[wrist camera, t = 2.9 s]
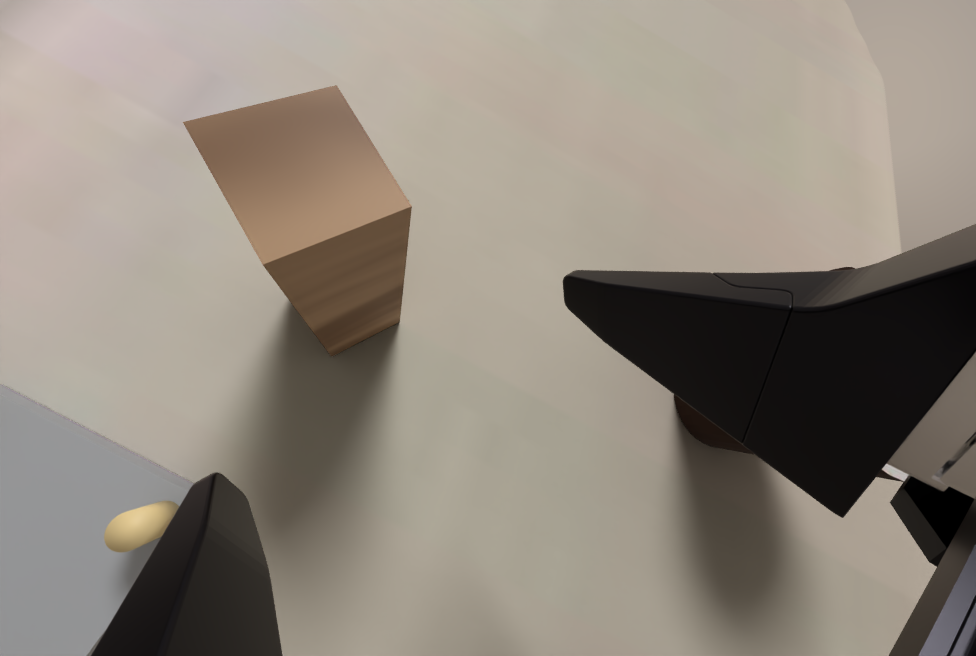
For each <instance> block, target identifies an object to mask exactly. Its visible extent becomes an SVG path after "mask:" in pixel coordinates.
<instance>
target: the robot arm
mask: <svg viewBox="0 0 976 656" xmlns="http://www.w3.org/2000/svg"><path fill="white" fill-rule="evenodd" d="M563 290H564V302H565V305H566V306H567V308H568V309H569V310H570V311H571V312H572V313H573V314H574V315H575V316H576V317H578V318H579V319H580V320H581V321H582V322H583V323H584V324H585V325H586V326H587V327H588V328H589V329H591V330H592V331H593V332H594V333H595V334H596V335H597V336H598V337H599V338H601V339H602V340H603V341H604V342H605V343H607V344H608V345H609V346H610V347H612V348H613V349H614V350H616V351H617V352H618V353H620V354H621V355H622V356H624V357H625V358H626V359H628V360H629V361H631V362H632V363H633V364H635V365H636V366H637V367H639V368H640V369H641V370H643V371H644V372H645V373H647V374H648V375H649V376H651V377H652V378H653V379H655V380H656V381H657V382H659V383H660V384H661V385H663V386H664V387H665V388H667V389H668V390H670V391H671V392H672V393H674V394H675V395H676V396H678V397H679V398H680V399H682V400H683V401H684V402H686V403H687V404H688V405H690V406H691V407H692V408H694V409H695V410H696V411H698V412H699V413H700V414H702V415H703V416H704V417H706V418H707V419H709V420H710V421H711V422H713V423H714V424H715V425H717V426H718V427H719V428H721V429H722V430H723V431H725V432H726V433H727V434H729V435H730V436H731V437H733V438H734V439H735V440H737V441H738V442H739V443H742V445H743V446H744V447H746V448H747V449H748V450H750V451H751V452H753V453H754V454H755V455H757V456H758V457H759V458H761V459H762V460H763V461H765V462H766V463H767V464H769V465H770V466H771V467H773V468H774V469H775V470H777V471H778V472H779V473H781V474H782V475H783V476H785V477H786V478H787V479H789V480H790V481H791V482H793V483H794V484H796V485H797V486H798V487H800V488H801V489H802V490H804V491H805V492H806V493H808V494H809V495H810V496H812V497H813V498H814V499H816V500H817V501H818V502H820V503H821V504H822V505H824V506H825V507H826V508H828V509H829V510H831V511H832V512H833V513H835V514H837V515H838V516H840V517H842V518H843V517H844V516H845V515H846V514H847V512H848V511H849V510H850V509H851V507H852V506H853V505H854V504H855V502H856V501H857V500H858V499H859V497H860V496H861V495H862V494H863V492H864V491H865V490H866V489H867V487H868V486H869V485H870V484H871V482H872V481H873V480H874V479H875V477H876V476H877V475H878V474H879V472H880V471H881V470H882V469H883V467H884V466H885V465H886V464H888V465H890V466H892V467H894V468H896V469H898V470H900V471H902V472H904V473H906V474H908V476H907V478H906V479H905V481H904V482H903V484H902V485H901V487H900V488H899V490H898V491H897V493H896V494H895V496H894V497H893V499H892V500H891V502H890V503H891V505H892V506H893V508H894V510H895V511H896V513H897V514H898V516H899V517H900V519H901V520H902V522H903V523H904V525H905V526H906V528H907V529H908V531H909V532H910V534H911V535H912V537H913V538H914V540H915V541H916V543H917V544H918V546H919V547H920V549H921V550H922V552H923V553H924V555H925V556H926V558H927V559H928V561H929V562H930V563H932V564H933V565H935V566H937V568H936V570H935V572H934V574H933V576H932V578H931V579H930V581H929V583H928V585H927V587H926V588H925V590H924V592H923V594H922V596H921V598H920V599H919V601H918V603H917V605H916V607H915V609H914V610H913V612H912V614H911V616H910V618H909V619H908V621H907V623H906V625H905V627H904V629H903V630H902V632H901V634H900V636H899V638H898V639H897V641H896V643H895V645H894V647H893V649H892V650H891V652H890V654H889V656H976V224H975V225H972V226H970V227H967V228H965V229H962V230H960V231H957V232H955V233H952V234H950V235H947V236H945V237H942V238H940V239H937V240H935V241H932V242H930V243H927V244H925V245H922V246H919V247H917V248H915V249H912V250H910V251H907V252H904V253H902V254H899V255H897V256H894V257H892V258H889V259H887V260H884V261H882V262H879V263H876V264H873V265H870V266H866V267H862V268H857V269H851V270H842V271H815V272H780V273H713V274H712V273H705V272H648V271H591V270H576V271H573V272H571V273H570V274H568V275H566V276H565V277H564V279H563ZM90 656H282V650H281V643H280V637H279V630H278V624H277V618H276V611H275V605H274V598H273V592H272V585H271V579H270V574H269V569H268V565H267V561H266V558H265V555H264V551H263V548H262V545H261V541H260V538H259V535H258V531H257V528H256V525H255V522H254V518H253V515H252V512H251V508H250V505H249V502H248V500H247V498H246V496H245V495H244V494H243V492H242V491H240V490H239V489H238V488H237V487H236V486H235V485H234V484H233V483H231V482H230V481H229V480H228V479H227V478H226V477H225V476H224V475H222V474H220V473H212V474H210V475H208V476H207V477H205V478H203V479H201V480H199V481H198V482H196V483H195V484H193V485H192V487H191V488H190V489H189V491H188V493H187V494H186V496H185V498H184V499H183V501H182V503H181V505H180V506H179V508H178V510H177V511H176V513H175V515H174V516H173V518H172V520H171V521H170V523H169V525H168V526H167V528H166V530H165V531H164V533H163V535H162V536H161V538H160V540H159V541H158V543H157V545H156V546H155V548H154V550H153V551H152V553H151V555H150V557H149V558H148V560H147V562H146V563H145V565H144V567H143V568H142V570H141V572H140V573H139V575H138V577H137V578H136V580H135V582H134V583H133V585H132V587H131V588H130V590H129V592H128V593H127V595H126V597H125V598H124V600H123V602H122V603H121V605H120V607H119V609H118V610H117V612H116V614H115V615H114V617H113V619H112V620H111V622H110V624H109V625H108V627H107V629H106V630H105V632H104V634H103V635H102V637H101V639H100V640H99V642H98V644H97V645H96V647H95V649H94V650H93V652H92V654H91V655H90Z"/></svg>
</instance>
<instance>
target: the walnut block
mask: <svg viewBox="0 0 976 656" xmlns="http://www.w3.org/2000/svg"><path fill="white" fill-rule="evenodd" d="M183 123H184V125H185V127H186V129H187V130H188V132H189V134H190V136H191V138H192V139H193V141H194V143H195V145H196V146H197V148H198V150H199V152H200V154H201V155H202V157H203V159H204V161H205V163H206V164H207V166H208V168H209V170H210V171H211V173H212V175H213V177H214V179H215V180H216V182H217V184H218V186H219V187H220V189H221V191H222V193H223V195H224V196H225V198H226V200H227V202H228V204H229V205H230V207H231V209H232V211H233V212H234V214H235V216H236V218H237V220H238V221H239V223H240V225H241V227H242V229H243V230H244V232H245V234H246V236H247V237H248V239H249V241H250V243H251V245H252V246H253V248H254V250H255V252H256V254H257V255H258V257H259V259H260V261H261V262H262V264H263V266H264V267H265V268H266V270H267V271H268V272H269V274H270V275H271V276H272V278H273V279H274V280H275V282H276V283H277V284H278V286H279V287H280V288H281V290H282V291H283V292H284V294H285V295H286V296H287V298H288V299H289V300H290V302H291V303H292V304H293V306H294V307H295V308H296V310H297V311H298V313H299V314H300V315H301V317H302V318H303V319H304V321H305V322H306V323H307V325H308V326H309V327H310V329H311V330H312V331H313V333H314V334H315V335H316V337H317V338H318V339H319V341H320V342H321V343H322V345H323V346H324V347H325V349H326V350H327V351H328V353H329V354H330V355H331V357H332V356H334V355H336V354H338V353H340V352H342V351H344V350H346V349H348V348H350V347H352V346H354V345H356V344H358V343H359V342H361V341H363V340H365V339H367V338H369V337H371V336H373V335H375V334H377V333H379V332H381V331H383V330H385V329H387V328H389V327H391V326H393V325H395V324H397V323H399V322H400V314H401V304H402V294H403V285H404V275H405V266H406V256H407V246H408V237H409V227H410V218H411V208H412V206H411V205H410V203H409V201H408V200H407V198H406V196H405V195H404V193H403V192H402V190H401V188H400V187H399V185H398V184H397V182H396V180H395V179H394V177H393V175H392V174H391V172H390V171H389V169H388V167H387V166H386V164H385V163H384V161H383V159H382V158H381V156H380V155H379V153H378V151H377V150H376V148H375V146H374V145H373V143H372V142H371V140H370V138H369V137H368V135H367V134H366V132H365V130H364V129H363V127H362V125H361V124H360V122H359V121H358V119H357V117H356V116H355V114H354V113H353V111H352V109H351V108H350V106H349V105H348V103H347V101H346V100H345V98H344V96H343V95H342V93H341V92H340V90H339V88H338V87H337V85H336V86H332V87H327V88H323V89H319V90H315V91H311V92H307V93H303V94H298V95H294V96H290V97H286V98H282V99H278V100H273V101H269V102H265V103H261V104H257V105H253V106H248V107H244V108H240V109H236V110H232V111H228V112H223V113H219V114H215V115H211V116H207V117H203V118H199V119H194V120H190V121H186V122H183Z"/></svg>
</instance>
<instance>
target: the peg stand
mask: <svg viewBox="0 0 976 656" xmlns="http://www.w3.org/2000/svg"><path fill="white" fill-rule="evenodd" d="M193 484H194V483H192V482H190V481H188V480H186V479H185V478H183V477H181V476H179V475H177V474H175V473H173V472H171V471H169V470H167V469H165V468H163V467H161V466H159V465H157V464H155V463H153V462H151V461H150V460H148V459H146V458H144V457H142V456H140V455H138V454H136V453H134V452H132V451H130V450H128V449H126V448H124V447H122V446H120V445H118V444H117V443H115V442H113V441H111V440H109V439H107V438H105V437H103V436H101V435H99V434H97V433H95V432H93V431H91V430H89V429H87V428H85V427H84V426H82V425H80V424H78V423H76V422H74V421H72V420H70V419H68V418H66V417H64V416H62V415H60V414H58V413H56V412H54V411H52V410H51V409H49V408H47V407H45V406H43V405H41V404H39V403H37V402H35V401H33V400H31V399H29V398H27V397H25V396H23V395H21V394H19V393H18V392H16V391H14V390H12V389H10V388H8V387H6V386H4V385H1V384H0V656H90V655H91V654H92V652H93V650H94V649H95V647H96V645H97V644H98V642H99V640H100V639H101V637H102V635H103V634H104V632H105V630H106V629H107V627H108V625H109V624H110V622H111V620H112V619H113V617H114V615H115V614H116V612H117V610H118V609H119V607H120V605H121V603H122V602H123V600H124V598H125V597H126V595H127V593H128V592H129V590H130V588H131V587H132V585H133V583H134V582H135V580H136V578H137V577H138V575H139V573H140V572H141V570H142V568H143V567H144V565H145V563H146V562H147V560H148V558H149V557H150V555H151V553H152V551H153V550H154V548H155V546H156V545H157V543H158V541H159V540H160V538H161V536H162V535H163V533H164V531H165V530H166V528H167V526H168V525H169V523H170V521H171V520H172V518H173V516H174V515H175V513H176V511H177V510H178V508H179V506H180V505H181V503H182V501H183V499H184V498H185V496H186V494H187V493H188V491H189V489H190V488H191V487H192V485H193Z"/></svg>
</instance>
